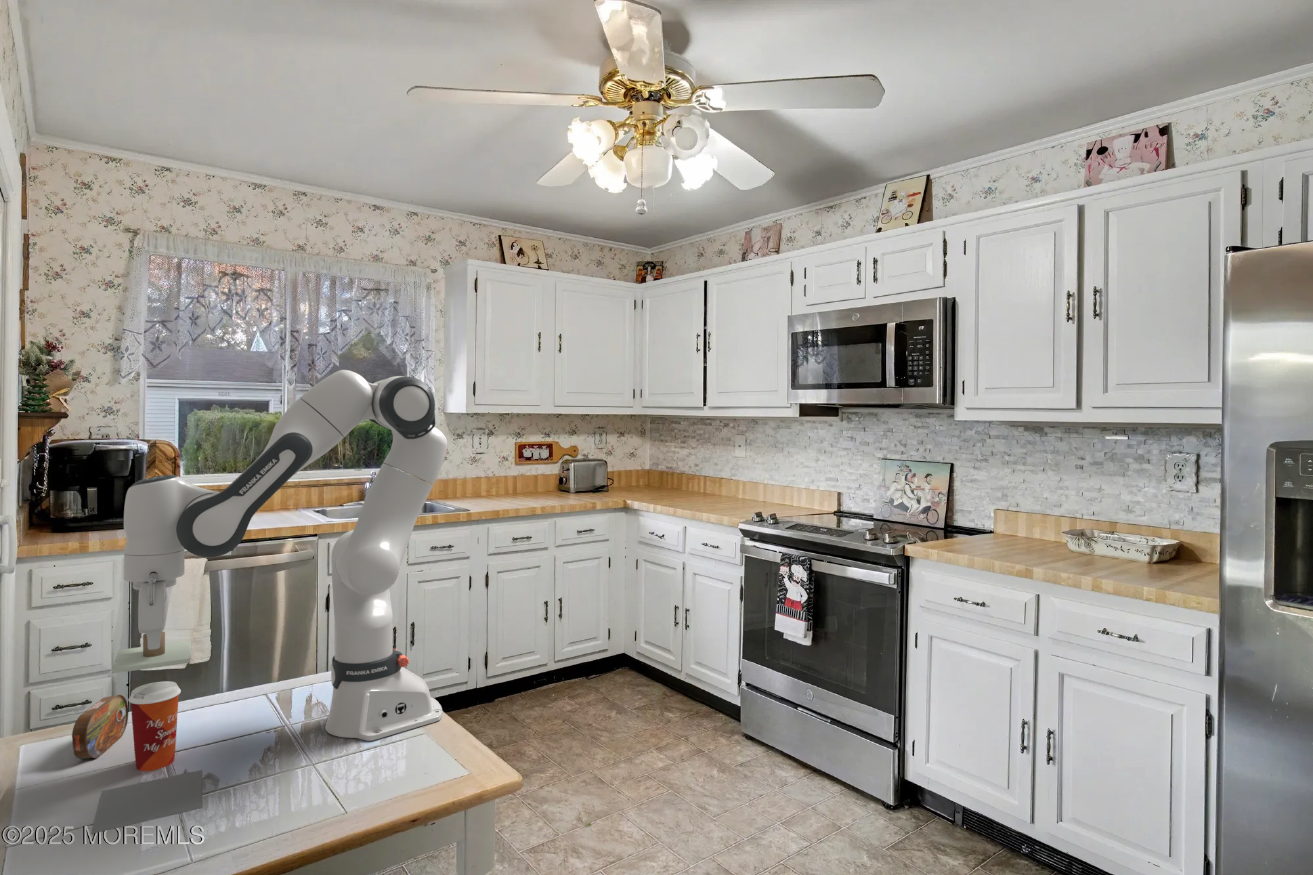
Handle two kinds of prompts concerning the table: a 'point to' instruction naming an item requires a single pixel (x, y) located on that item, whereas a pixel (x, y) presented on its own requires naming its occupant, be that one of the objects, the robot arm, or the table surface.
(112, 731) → the tin
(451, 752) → the table surface
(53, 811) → the table surface
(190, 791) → the mat
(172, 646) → the lid
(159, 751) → the paper cup
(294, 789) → the table surface
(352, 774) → the table surface
